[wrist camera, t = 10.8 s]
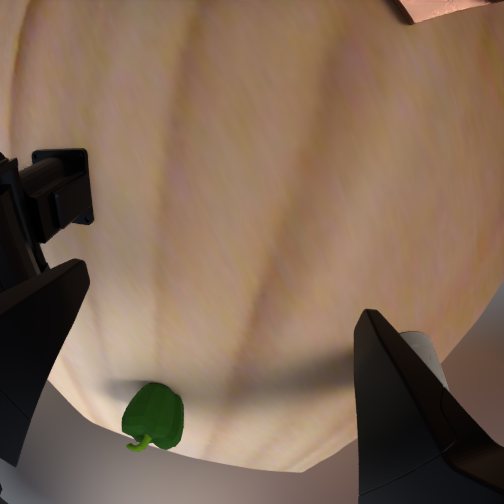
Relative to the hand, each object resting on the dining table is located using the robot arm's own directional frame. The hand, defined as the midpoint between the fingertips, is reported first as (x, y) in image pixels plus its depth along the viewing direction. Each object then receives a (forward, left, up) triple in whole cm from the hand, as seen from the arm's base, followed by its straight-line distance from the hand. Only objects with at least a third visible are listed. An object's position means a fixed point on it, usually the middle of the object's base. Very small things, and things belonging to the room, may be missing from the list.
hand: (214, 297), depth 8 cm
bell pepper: (-9, -31, -12) cm, 35 cm away
